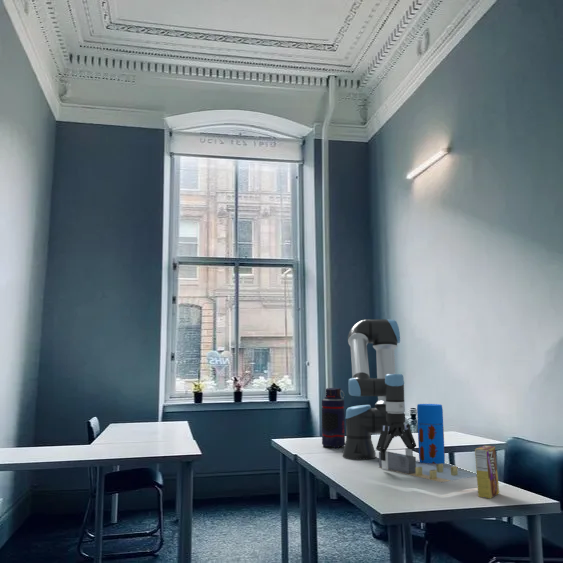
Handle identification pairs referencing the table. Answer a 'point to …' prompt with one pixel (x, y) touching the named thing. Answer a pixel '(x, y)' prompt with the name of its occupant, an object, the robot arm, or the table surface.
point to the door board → (440, 473)
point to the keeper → (434, 473)
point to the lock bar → (400, 463)
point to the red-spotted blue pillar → (430, 433)
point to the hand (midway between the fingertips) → (397, 467)
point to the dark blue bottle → (333, 419)
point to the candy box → (486, 471)
